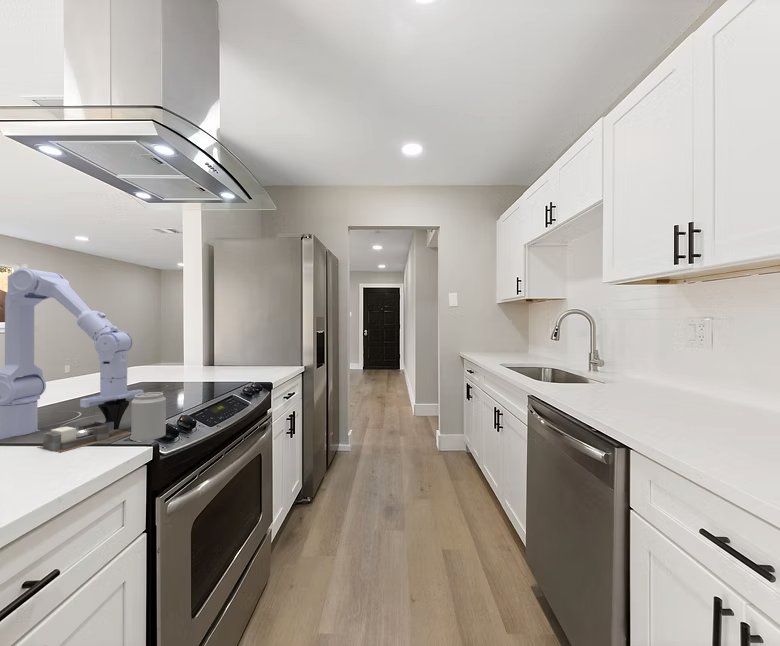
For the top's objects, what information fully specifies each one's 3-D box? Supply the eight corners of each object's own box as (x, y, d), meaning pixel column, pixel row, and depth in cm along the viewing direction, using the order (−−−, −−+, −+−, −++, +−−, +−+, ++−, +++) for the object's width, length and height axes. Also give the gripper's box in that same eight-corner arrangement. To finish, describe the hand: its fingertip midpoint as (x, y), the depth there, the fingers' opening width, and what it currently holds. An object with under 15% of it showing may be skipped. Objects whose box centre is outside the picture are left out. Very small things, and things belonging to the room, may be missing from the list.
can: (148, 446, 91) (149, 397, 91) (123, 443, 93) (123, 395, 92) (172, 436, 98) (172, 391, 98) (148, 434, 100) (148, 390, 100)
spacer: (50, 446, 87) (50, 429, 87) (65, 442, 90) (65, 426, 90) (61, 449, 85) (61, 431, 85) (76, 445, 88) (76, 428, 88)
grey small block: (65, 442, 90) (65, 427, 90) (102, 432, 97) (102, 419, 97) (76, 444, 88) (76, 430, 88) (113, 434, 96) (113, 421, 96)
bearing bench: (36, 451, 86) (36, 432, 86) (111, 432, 102) (111, 415, 102) (60, 457, 83) (60, 437, 83) (133, 436, 98) (133, 419, 98)
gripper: (93, 382, 90) (92, 439, 90) (151, 374, 103) (150, 423, 103) (75, 380, 92) (74, 435, 92) (133, 373, 106) (133, 421, 106)
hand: (113, 429), depth 98 cm, fingers closed
